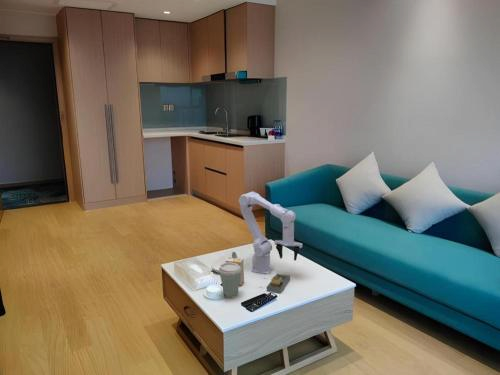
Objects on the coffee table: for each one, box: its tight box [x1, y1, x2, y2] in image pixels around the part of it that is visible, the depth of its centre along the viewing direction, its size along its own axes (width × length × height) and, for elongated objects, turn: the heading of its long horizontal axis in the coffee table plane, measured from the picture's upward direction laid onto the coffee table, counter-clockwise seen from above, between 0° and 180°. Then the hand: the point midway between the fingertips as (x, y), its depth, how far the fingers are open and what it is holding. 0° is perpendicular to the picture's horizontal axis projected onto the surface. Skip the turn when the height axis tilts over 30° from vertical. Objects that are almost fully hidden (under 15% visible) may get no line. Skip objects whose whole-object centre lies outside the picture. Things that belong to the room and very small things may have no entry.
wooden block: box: [270, 275, 283, 287], centre depth 190 cm, size 4×4×6 cm
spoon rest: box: [211, 250, 238, 274], centre depth 217 cm, size 24×12×7 cm, turn 162°
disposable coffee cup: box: [219, 262, 241, 299], centre depth 183 cm, size 11×11×15 cm
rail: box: [266, 273, 291, 294], centre depth 194 cm, size 7×16×2 cm, turn 158°
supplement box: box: [226, 257, 245, 287], centre depth 196 cm, size 8×5×13 cm, turn 71°
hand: (288, 258), depth 202 cm, fingers open, 7 cm apart
